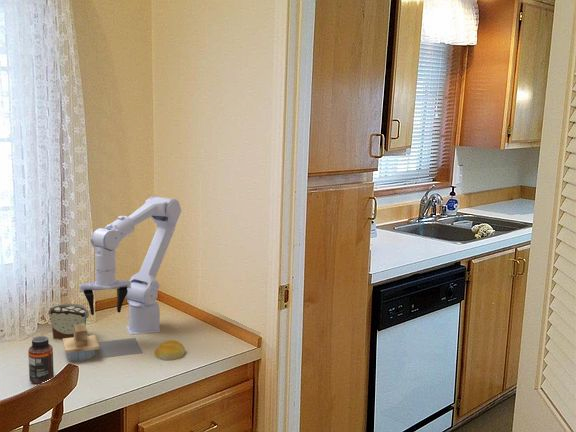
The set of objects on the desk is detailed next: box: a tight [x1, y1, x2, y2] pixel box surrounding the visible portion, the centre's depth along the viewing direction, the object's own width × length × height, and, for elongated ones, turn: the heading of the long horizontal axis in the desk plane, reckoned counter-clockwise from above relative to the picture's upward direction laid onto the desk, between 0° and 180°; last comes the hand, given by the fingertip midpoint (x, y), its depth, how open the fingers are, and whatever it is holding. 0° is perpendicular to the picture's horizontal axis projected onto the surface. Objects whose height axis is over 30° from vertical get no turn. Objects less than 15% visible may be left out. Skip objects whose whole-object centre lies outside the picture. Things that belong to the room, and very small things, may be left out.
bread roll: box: [153, 339, 186, 361], centre depth 178 cm, size 8×9×4 cm
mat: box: [96, 337, 144, 359], centre depth 181 cm, size 12×12×1 cm
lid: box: [61, 323, 99, 354], centre depth 173 cm, size 9×9×5 cm
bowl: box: [65, 350, 96, 362], centre depth 174 cm, size 8×8×4 cm
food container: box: [47, 303, 90, 340], centre depth 187 cm, size 12×6×10 cm, turn 84°
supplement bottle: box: [27, 335, 55, 385], centre depth 158 cm, size 6×6×11 cm
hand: (105, 312), depth 182 cm, fingers open, 7 cm apart
